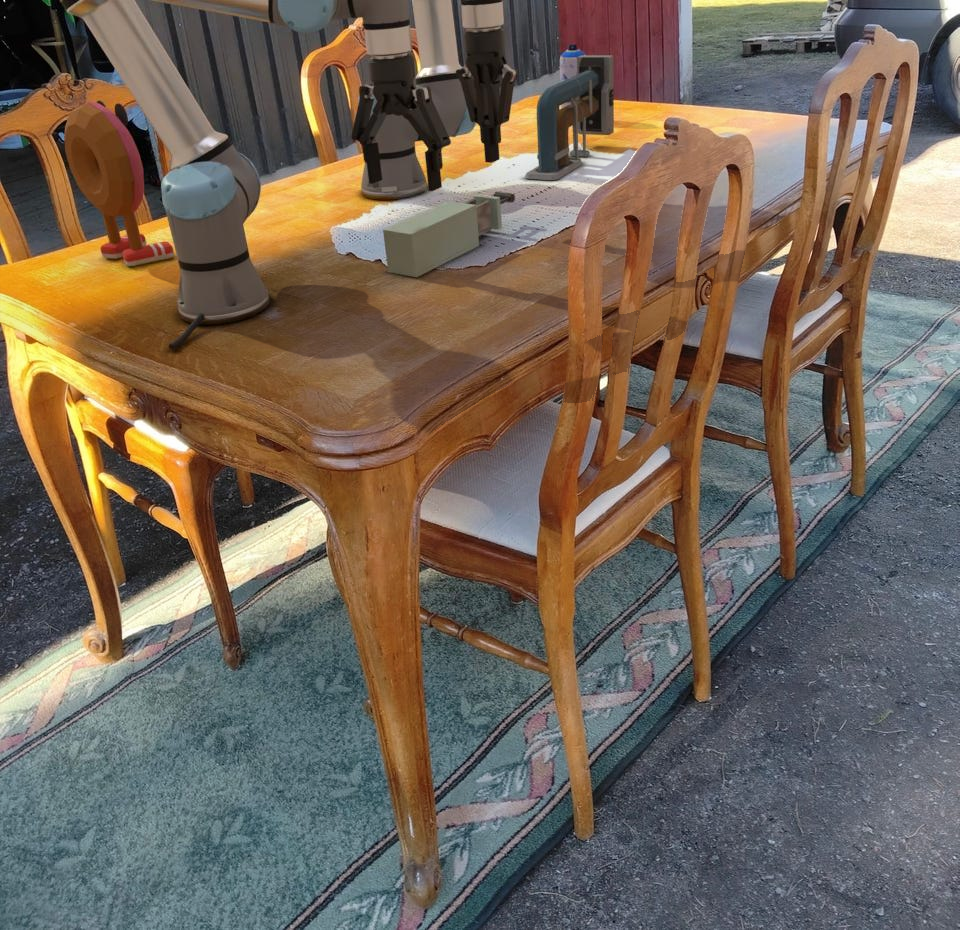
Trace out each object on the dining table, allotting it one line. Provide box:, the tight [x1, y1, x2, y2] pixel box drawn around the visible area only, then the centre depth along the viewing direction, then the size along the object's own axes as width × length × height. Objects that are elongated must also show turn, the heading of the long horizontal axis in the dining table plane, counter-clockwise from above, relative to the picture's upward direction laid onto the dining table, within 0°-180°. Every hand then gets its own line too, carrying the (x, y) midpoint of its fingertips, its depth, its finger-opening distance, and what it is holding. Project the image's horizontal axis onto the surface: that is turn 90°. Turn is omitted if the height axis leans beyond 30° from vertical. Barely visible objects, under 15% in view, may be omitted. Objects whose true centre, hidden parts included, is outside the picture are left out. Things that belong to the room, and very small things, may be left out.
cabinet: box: [382, 200, 480, 278], centre depth 179 cm, size 19×7×8 cm, turn 144°
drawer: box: [464, 191, 516, 237], centre depth 187 cm, size 24×6×6 cm, turn 144°
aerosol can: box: [559, 43, 586, 109], centre depth 273 cm, size 8×8×20 cm
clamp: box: [524, 54, 615, 181], centre depth 231 cm, size 35×9×21 cm, turn 151°
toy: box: [64, 100, 175, 267], centre depth 188 cm, size 21×10×30 cm, turn 47°
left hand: (404, 185), depth 169 cm, fingers open, 13 cm apart
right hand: (492, 160), depth 188 cm, fingers closed
